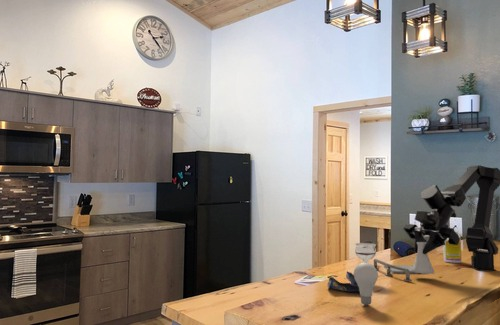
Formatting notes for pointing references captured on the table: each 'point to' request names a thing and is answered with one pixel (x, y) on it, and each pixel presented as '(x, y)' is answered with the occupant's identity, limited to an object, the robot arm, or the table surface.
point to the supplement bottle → (452, 252)
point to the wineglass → (365, 251)
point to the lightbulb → (365, 281)
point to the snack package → (344, 286)
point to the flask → (422, 261)
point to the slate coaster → (401, 270)
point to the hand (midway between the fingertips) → (419, 252)
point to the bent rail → (392, 267)
